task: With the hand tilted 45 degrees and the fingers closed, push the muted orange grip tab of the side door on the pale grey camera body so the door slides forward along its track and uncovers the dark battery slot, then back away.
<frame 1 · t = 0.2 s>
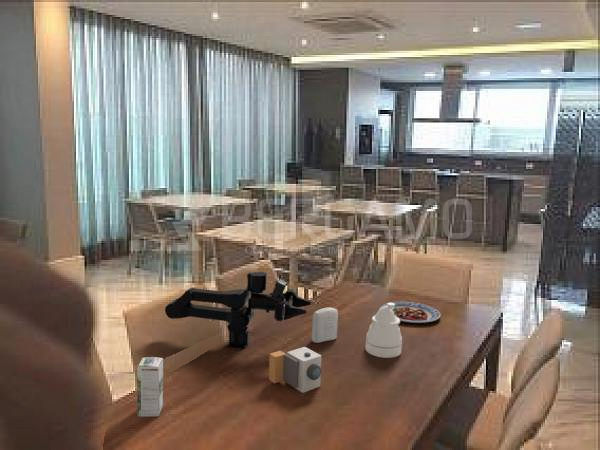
hand: (308, 307, 175), 17 cm above the table, tool horizontal, fingers open, 9 cm apart
syrup box: (150, 412, 137), on the table
honey pot: (383, 350, 182), on the table
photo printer: (324, 340, 189), on the table
ceramic plate: (409, 316, 219), on the table
camera body: (303, 384, 154), on the table
side door: (283, 370, 152), point 5 cm above the table, slide at 0.0 cm
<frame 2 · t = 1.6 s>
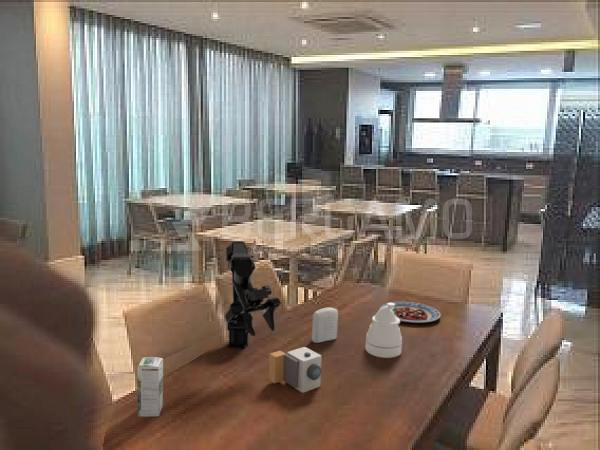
hand: (264, 332, 158), 14 cm above the table, tool tilted 45°, fingers open, 7 cm apart
nothing on the table moved.
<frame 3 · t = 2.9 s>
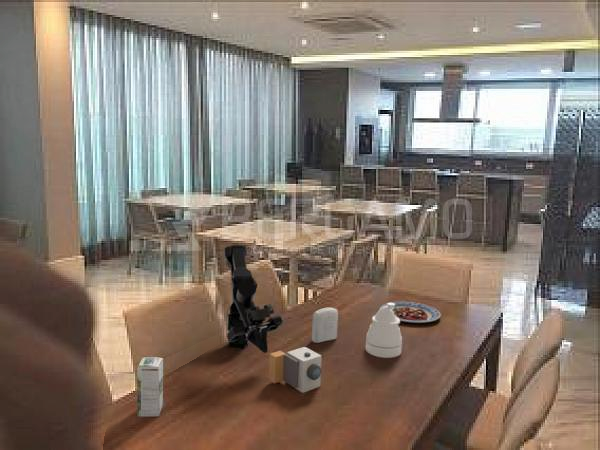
hand: (266, 352, 158), 8 cm above the table, tool tilted 45°, fingers closed
nothing on the table moved.
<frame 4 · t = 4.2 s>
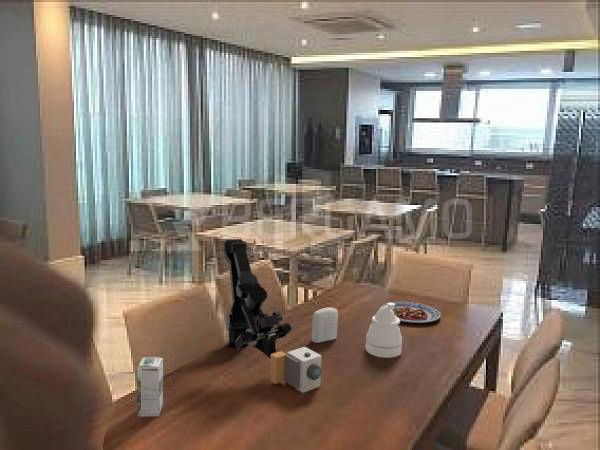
hand: (274, 360, 155), 7 cm above the table, tool tilted 45°, fingers closed, pressing on side door
side door: (284, 371, 151), point 5 cm above the table, slide at 0.5 cm, touching gripper
everything else where it was.
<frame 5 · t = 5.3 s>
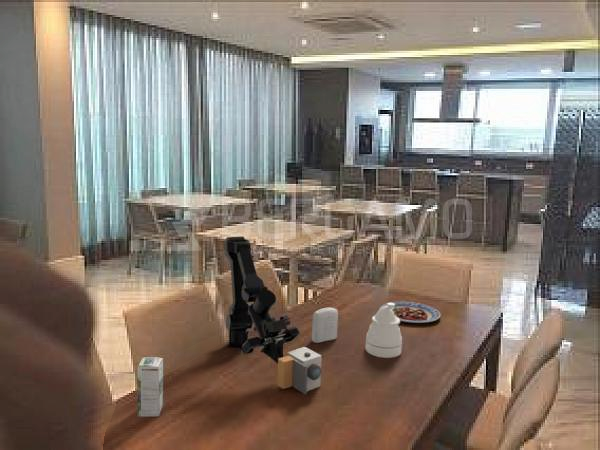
hand: (282, 365, 152), 7 cm above the table, tool tilted 45°, fingers closed, pressing on side door
side door: (292, 375, 148), point 5 cm above the table, slide at 4.3 cm, touching gripper
everything else where it was.
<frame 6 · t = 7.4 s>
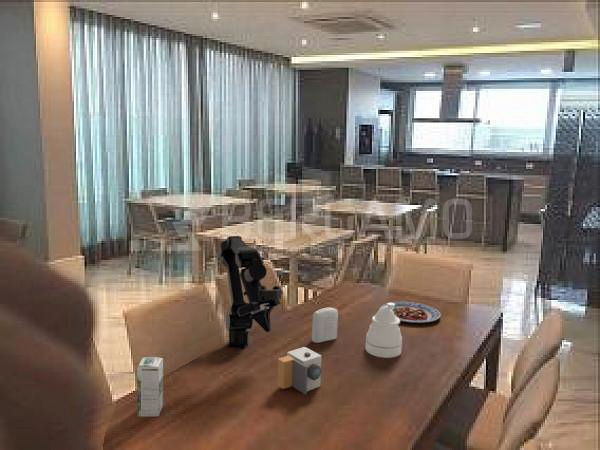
hand: (268, 331, 162), 13 cm above the table, tool tilted 30°, fingers closed
side door: (292, 375, 148), point 5 cm above the table, slide at 4.3 cm
everything else where it was.
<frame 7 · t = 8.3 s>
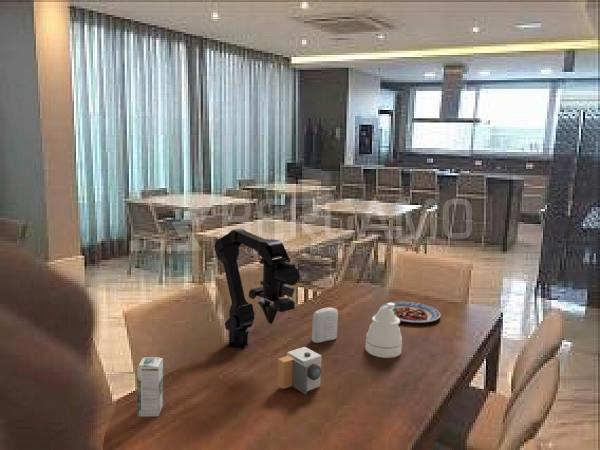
hand: (270, 323, 168), 13 cm above the table, tool pointing down, fingers closed
nothing on the table moved.
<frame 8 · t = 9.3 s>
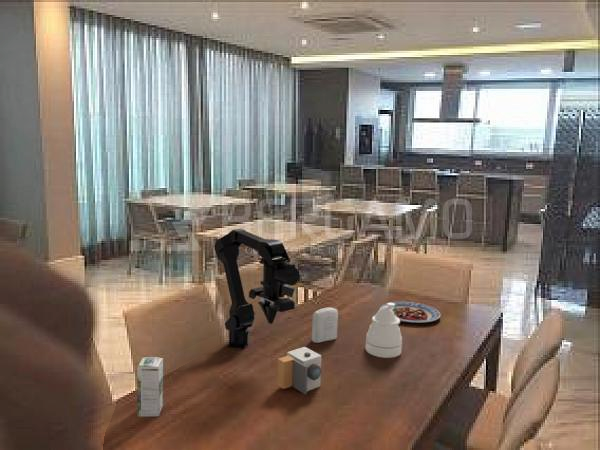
hand: (270, 323, 168), 13 cm above the table, tool pointing down, fingers closed
nothing on the table moved.
at the end: side door slide at 4.3 cm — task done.
